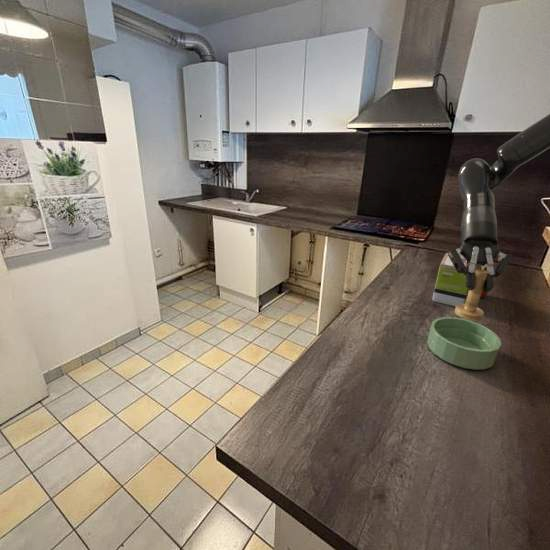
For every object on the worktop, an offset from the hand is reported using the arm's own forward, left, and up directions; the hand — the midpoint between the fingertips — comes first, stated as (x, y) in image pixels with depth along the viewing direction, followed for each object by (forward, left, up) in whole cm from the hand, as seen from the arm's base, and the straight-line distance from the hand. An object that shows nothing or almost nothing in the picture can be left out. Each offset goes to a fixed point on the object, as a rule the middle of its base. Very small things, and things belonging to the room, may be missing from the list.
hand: (479, 290), depth 69 cm
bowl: (-2, -1, -19) cm, 20 cm away
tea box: (-28, -25, -20) cm, 43 cm away
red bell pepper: (-39, -22, -20) cm, 49 cm away
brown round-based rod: (-1, -2, -8) cm, 8 cm away
